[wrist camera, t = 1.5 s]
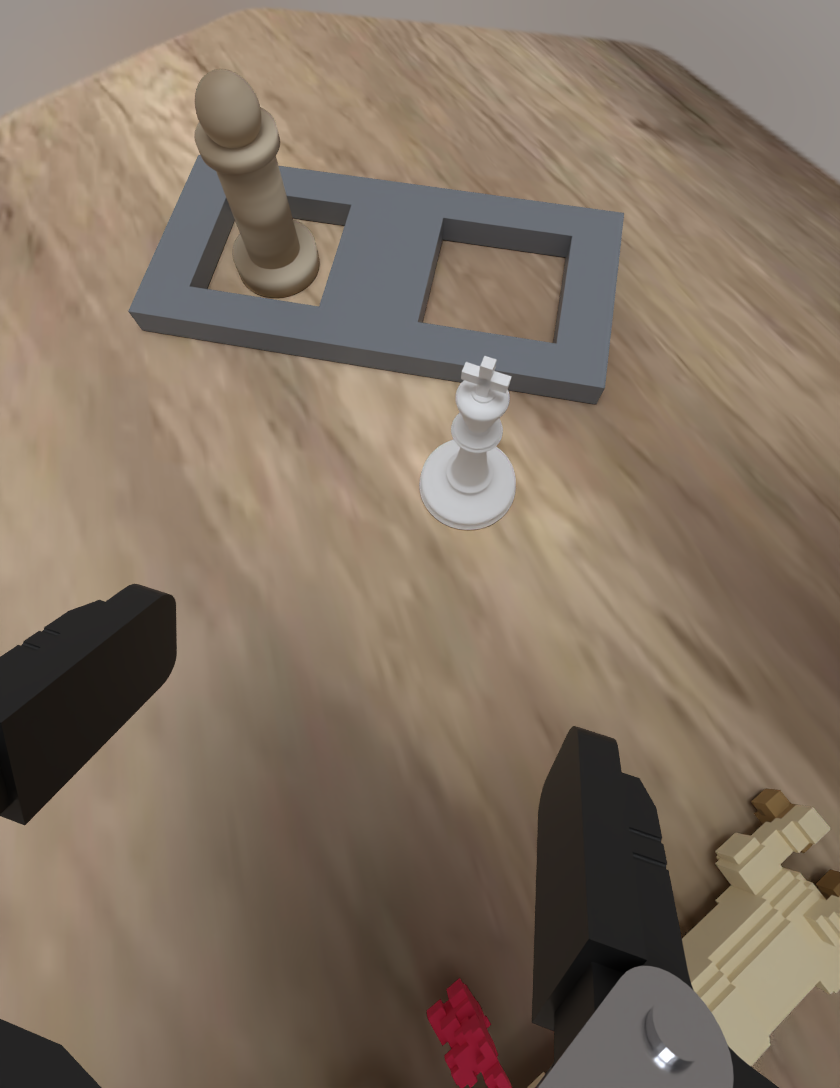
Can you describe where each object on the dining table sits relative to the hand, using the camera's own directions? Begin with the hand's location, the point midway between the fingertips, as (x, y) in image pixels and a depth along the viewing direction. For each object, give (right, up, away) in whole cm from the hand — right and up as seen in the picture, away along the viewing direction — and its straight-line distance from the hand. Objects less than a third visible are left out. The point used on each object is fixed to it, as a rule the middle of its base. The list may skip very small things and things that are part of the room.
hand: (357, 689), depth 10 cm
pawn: (-7, +20, +22) cm, 30 cm away
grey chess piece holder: (-1, +18, +21) cm, 28 cm away
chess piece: (+4, +6, +17) cm, 19 cm away
